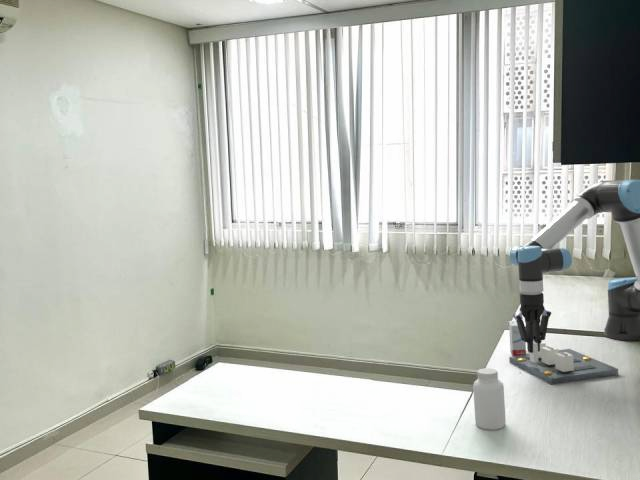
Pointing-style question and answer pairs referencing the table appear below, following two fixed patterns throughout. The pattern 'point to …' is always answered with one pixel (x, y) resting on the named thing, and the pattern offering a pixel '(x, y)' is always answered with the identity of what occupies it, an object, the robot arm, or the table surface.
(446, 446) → the table surface
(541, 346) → the slider
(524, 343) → the ink box
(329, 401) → the table surface
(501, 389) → the pill bottle
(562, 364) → the slider
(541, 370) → the switch unit
